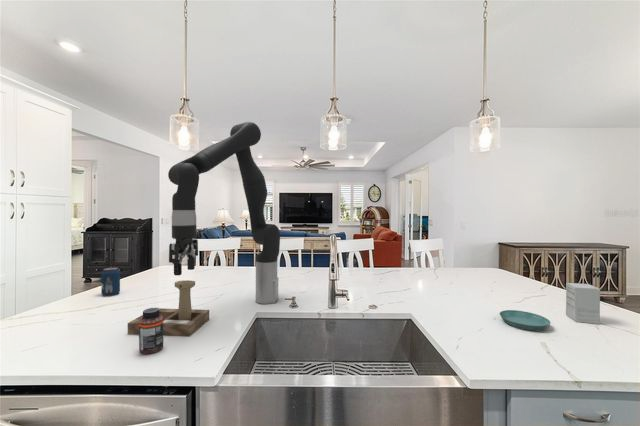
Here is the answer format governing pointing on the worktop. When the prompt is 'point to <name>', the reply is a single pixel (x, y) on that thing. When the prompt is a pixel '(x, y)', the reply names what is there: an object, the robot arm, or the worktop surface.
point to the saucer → (524, 320)
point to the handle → (184, 299)
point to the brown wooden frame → (175, 322)
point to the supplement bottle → (150, 331)
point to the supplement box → (583, 303)
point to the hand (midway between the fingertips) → (184, 272)
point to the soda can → (110, 281)
